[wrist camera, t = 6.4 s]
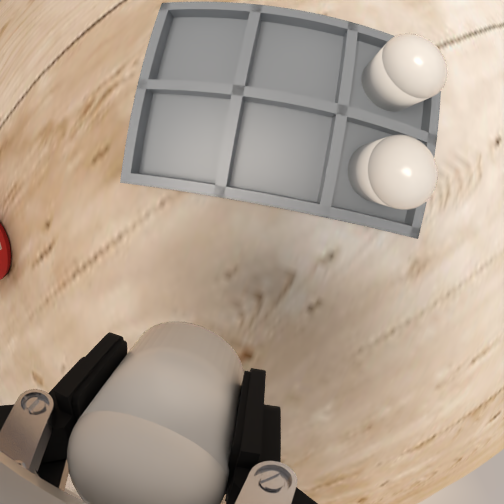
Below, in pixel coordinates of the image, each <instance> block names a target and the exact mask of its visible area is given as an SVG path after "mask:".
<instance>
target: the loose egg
mask: <svg viewBox="0 0 504 504" xmlns="http://www.w3.org/2000/svg"><path fill="white" fill-rule="evenodd" d="M243 376H244V371H243V367H242V364H241V361H240V359H239V357H238V355H237V354H236V352H235V351H234V349H233V348H232V347H231V346H230V345H229V344H228V343H227V342H226V341H225V340H224V339H223V338H221V337H220V336H218V335H217V334H216V333H214V332H212V331H210V330H208V329H206V328H204V327H201V326H199V325H195V324H192V323H186V322H166V323H161V324H158V325H155V326H153V327H151V328H150V329H148V330H147V331H146V332H144V333H143V335H142V336H141V337H140V338H139V339H138V341H137V342H136V343H135V345H134V346H133V347H132V348H131V350H130V351H129V352H128V354H127V355H126V356H125V358H124V359H123V360H122V361H121V363H120V364H119V365H118V367H117V368H116V369H115V371H114V372H113V373H112V375H111V376H110V377H109V379H108V380H107V381H106V383H105V384H104V385H103V387H102V388H101V389H100V391H99V392H98V393H97V395H96V396H95V397H94V399H93V400H92V402H91V403H90V404H89V406H88V407H87V408H86V410H85V411H84V412H83V414H82V415H81V417H80V418H79V419H78V421H77V423H76V424H75V426H74V428H73V430H72V432H71V435H70V438H69V442H68V448H67V463H68V469H69V474H70V477H71V480H72V482H73V485H74V487H75V489H76V490H77V492H78V494H79V496H80V497H81V498H82V500H83V501H84V502H86V503H88V504H220V503H221V501H222V499H223V497H224V495H225V491H226V487H227V482H228V476H229V467H228V463H229V457H230V451H231V446H232V440H233V434H234V428H235V422H236V415H237V409H238V403H239V397H240V391H241V385H242V381H243Z"/></svg>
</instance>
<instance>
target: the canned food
mask: <svg viewBox="0 0 504 504" xmlns="http://www.w3.org/2000/svg"><path fill="white" fill-rule="evenodd" d="M10 264H11V249H10V244H9V240H8V237H7V234H6V232H5V230H4V228H3V226H2V225H1V223H0V279H2V278H3V277H4V276H5V275H6V274H7V272H8V271H9V268H10Z"/></svg>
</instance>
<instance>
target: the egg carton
mask: <svg viewBox="0 0 504 504" xmlns="http://www.w3.org/2000/svg"><path fill="white" fill-rule="evenodd" d="M393 37H395V36H393V35H390V34H387V33H384V32H381V31H378V30H375V29H372V28H369V27H366V26H363V25H359V24H356V23H352V22H349V21H345V20H341V19H337V18H333V17H329V16H324V15H320V14H315V13H310V12H305V11H300V10H294V9H288V8H281V7H274V6H265V5H256V4H245V3H230V2H172V3H162V4H161V7H160V10H159V13H158V16H157V19H156V22H155V25H154V28H153V31H152V34H151V38H150V41H149V44H148V48H147V51H146V55H145V58H144V62H143V66H142V70H141V73H140V77H139V82H138V86H137V90H136V94H135V99H134V104H133V108H132V113H131V118H130V123H129V129H128V134H127V140H126V146H125V153H124V159H123V166H122V174H121V182H120V183H128V184H135V185H143V186H150V187H157V188H164V189H171V190H178V191H184V192H191V193H197V194H203V195H209V196H215V197H221V198H227V199H233V200H239V201H244V202H250V203H256V204H261V205H266V206H272V207H277V208H282V209H287V210H292V211H297V212H302V213H307V214H312V215H317V216H322V217H326V218H331V219H336V220H340V221H345V222H349V223H354V224H358V225H363V226H367V227H371V228H376V229H380V230H384V231H388V232H393V233H397V234H401V235H405V236H409V237H413V238H417V239H418V236H419V232H420V228H421V224H422V220H423V215H424V211H425V206H426V202H425V203H424V204H422V205H420V206H419V207H416V208H413V209H408V210H400V209H395V208H392V207H388V206H385V205H381V204H378V203H374V202H371V201H368V200H365V199H363V198H362V197H360V196H359V195H358V194H357V193H356V192H355V191H354V189H353V188H352V186H351V184H350V181H349V178H348V164H349V160H350V158H351V156H352V154H353V153H354V151H355V150H356V149H357V148H359V147H360V146H362V145H364V144H367V143H370V142H373V141H376V140H379V139H382V138H385V137H389V136H393V135H407V136H410V137H413V138H415V139H417V140H419V141H420V142H422V143H423V144H424V145H425V146H426V147H427V148H428V149H429V150H430V152H431V153H432V155H433V157H434V155H435V148H436V140H437V131H438V121H439V110H440V95H441V91H440V92H439V93H438V94H436V95H435V96H433V97H430V98H428V99H426V100H424V101H421V102H419V103H417V104H415V105H413V106H410V107H408V108H406V109H404V110H402V111H398V112H390V111H386V110H383V109H381V108H379V107H378V106H376V105H375V104H374V103H372V102H371V101H370V99H369V98H368V97H367V95H366V94H365V92H364V89H363V87H362V81H361V77H362V72H363V70H364V68H365V67H366V65H367V64H368V63H369V62H370V61H371V60H372V59H373V57H374V56H375V55H376V54H377V53H378V52H379V51H380V50H381V49H382V47H383V46H384V45H385V44H386V43H387V42H388V41H389V40H390V39H391V38H393Z"/></svg>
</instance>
